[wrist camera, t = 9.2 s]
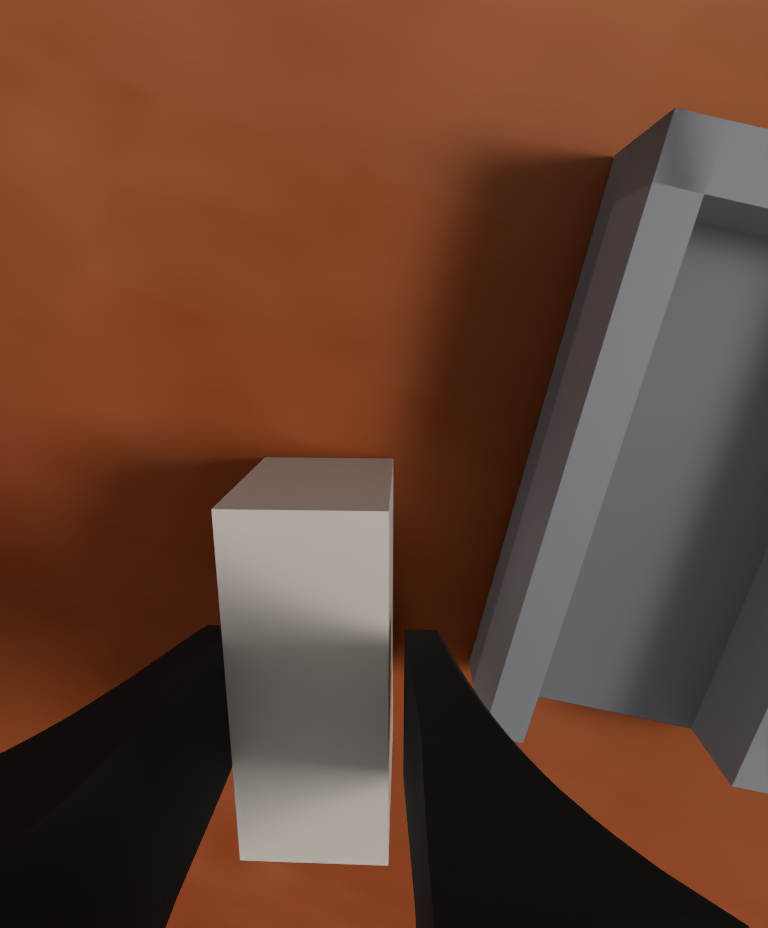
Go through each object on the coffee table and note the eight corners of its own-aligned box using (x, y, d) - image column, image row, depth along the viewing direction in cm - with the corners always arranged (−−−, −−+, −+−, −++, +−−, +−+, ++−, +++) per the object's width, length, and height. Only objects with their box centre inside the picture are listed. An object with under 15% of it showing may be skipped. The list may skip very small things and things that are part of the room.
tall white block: (392, 729, 14) (388, 866, 10) (281, 726, 14) (240, 859, 11) (393, 456, 12) (388, 511, 9) (266, 455, 12) (211, 508, 9)
